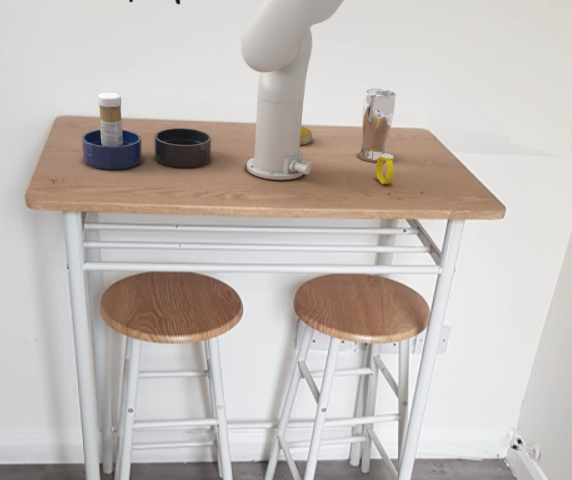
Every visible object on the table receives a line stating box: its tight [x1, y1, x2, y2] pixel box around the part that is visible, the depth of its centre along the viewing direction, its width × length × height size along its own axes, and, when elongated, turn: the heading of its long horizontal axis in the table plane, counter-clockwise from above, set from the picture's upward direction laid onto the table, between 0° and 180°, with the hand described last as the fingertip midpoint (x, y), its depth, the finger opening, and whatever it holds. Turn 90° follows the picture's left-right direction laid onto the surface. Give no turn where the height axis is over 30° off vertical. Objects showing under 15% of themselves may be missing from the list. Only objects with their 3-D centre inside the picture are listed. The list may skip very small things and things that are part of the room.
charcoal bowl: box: [153, 127, 212, 169], centre depth 154 cm, size 12×12×5 cm
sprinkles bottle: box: [97, 92, 123, 146], centre depth 147 cm, size 5×5×14 cm
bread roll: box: [300, 125, 313, 146], centre depth 171 cm, size 8×9×4 cm
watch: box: [375, 153, 395, 185], centre depth 151 cm, size 6×3×6 cm, turn 16°
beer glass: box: [358, 88, 397, 163], centre depth 162 cm, size 7×7×15 cm
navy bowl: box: [81, 128, 143, 171], centre depth 150 cm, size 12×12×5 cm
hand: (154, 2), depth 148 cm, fingers open, 9 cm apart
